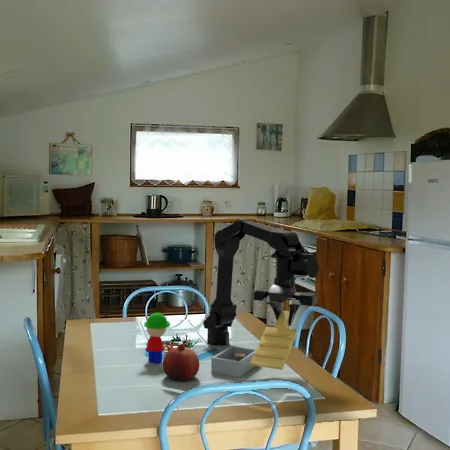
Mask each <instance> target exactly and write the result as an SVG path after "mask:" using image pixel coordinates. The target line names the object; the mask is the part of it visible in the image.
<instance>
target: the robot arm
mask: <svg viewBox="0 0 450 450" xmlns="http://www.w3.org/2000/svg"><path fill="white" fill-rule="evenodd" d="M246 236H250V237H253V238H255V239H257V240H260V241H263V242H266V243H267V244H268V246H269V247H270V248H272V249H273V250H275V251H274V252H273V253H272V254H271V255H270V258H273V259H276V262H275V276H274V281H273V284H272V285H271V286H270V288H258V289H256V290H255V291H254V292H253V294H252V296H253V297H252V300H253V301H260V302H261V301H264V300H265V299H266V300H267V301H266V302H265V303H266V305H269V306H270V307H271V308H272V309H271V310H273V312H274V316H275V319H276V321H277V320H278V318H279V316H280V313H281V311H282V304H284V303H286V301H291V303H290V304H288V307H289V311H290V312H289V327H291V326H292V324H293V321H294V319H295V316H296V315H297V312H298V310H299V309H300V307H301V306H307V307H308V306H309V307H312V306H315V305H316V304H318V302H319V301H318V299H319V297H318V295H317V294H316V293H314V292H303V293H301V294H296V293H297V290H296V287H295V286H296V281H297V276H298V277H303V278H304V277H305V278H310V279H314V278H315V277H317V275H318V274H319V269H320V264H319V263H318V260H317V259H316V257H315V254H314V253H307V252H306V251H305V248H304V246H303V245H302V243H301V240H300V239H299V236H298V234H297V232H295V231H289V230H288V231H287V230H279V229H278V230H277V229H273V228H270V227H268V226H265V225H262V224H259V223H256V222H254V221H251V220H249V219H247V218H243V219H237V220H235V221H234V222H232V223H231V224H229V225H227V226H225V227H223V228H222V229H220V230H217V231H216V233H215V234H214V239H213V240H214V249H215V251H216V254H217V256H218V260H217V261H218V263H217V279H216V292H215V293H216V294H215V299H214V300H213V302H212V304H210V310H209V314H208V316H207V317H206V318H205V320H203V328H204V329H207V341H206V342H207V343H206V345H207V344H208V345H211V346H221V347H222V346H223V347H224V346H225V347H226V346H229V345H231V343H230V332H229V327H233V323H234V321H235V318H236V317H237V304H234V302H233V301H232V285H233V273H234V272H233V270H234V257H235V256H236V254H237V252H238V250H239V248H240V244H241V241H242V240H243V239H244V238H245V237H246Z"/></svg>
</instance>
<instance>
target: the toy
mask: <svg viewBox="0 0 450 450" xmlns="http://www.w3.org/2000/svg"><path fill="white" fill-rule="evenodd" d="M143 326H144V327H145V328H146V331H147V333H148V335H149V336H150V337H149V338H148V340H147V342H146V348H145V350H144V351H145V352H147V353H148V358H147V359H148V362H149V363H154V364H163V352H164V351H165V348H164V344H163V341H162V338H161V337H162V336H163V335H165V333H166V330H167V328H170V326H171V322H170V321H169V320H167V317H166V316H165V315H164V314H163V313H161V312H154V313H151V314H150V315H149V316H148V318H147V319H146V321H145V322H144V325H143Z"/></svg>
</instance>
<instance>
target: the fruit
mask: <svg viewBox="0 0 450 450" xmlns="http://www.w3.org/2000/svg"><path fill="white" fill-rule="evenodd" d="M162 369H163V372H164V374H165V375H166V376H167V377H168V378H170V379H171V380H175V381H179V382H186V381H189V380H192V379H194V377H196V375H197V374H198V372H199V370H200V359H199V357H198V355H197V353H196V351H194V350H193V349H190V348H189V347H186V345H185V344H184V343H179V344H178V345H177V347H174V348H170V349H169V350H167V352H166V353H165V354H164V357H163V359H162Z"/></svg>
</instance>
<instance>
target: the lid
mask: <svg viewBox="0 0 450 450" xmlns="http://www.w3.org/2000/svg"><path fill="white" fill-rule="evenodd" d="M289 312H290V310H281V313H280V316H279V318H278V320H277V319H276V322H275V327H273V326H266V327H265V329H264V331H263V334H262V335H261V338H260V339H259V342H258V344H257V347H256V348H255V349H256V351H255V353H254V355H253V358H252V360H251V362H250V365H254V367H259V368H260V367H261V368H268V369H274V370H282V371H283V369H284V367H285V364H286V362H287V361H288V360H287V359H288V357H289V354H290V352H291V349H292V347H293V344H294V343H295V339H296V337H297V335H298V329H293V328H292V329H291V328H289V327H290V326H289Z"/></svg>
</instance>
